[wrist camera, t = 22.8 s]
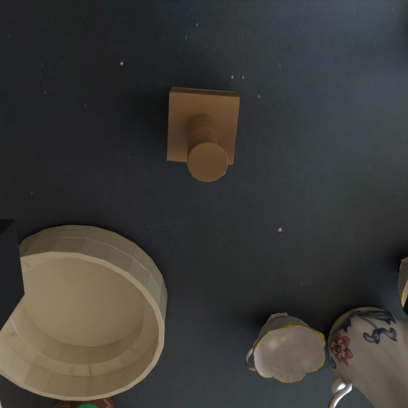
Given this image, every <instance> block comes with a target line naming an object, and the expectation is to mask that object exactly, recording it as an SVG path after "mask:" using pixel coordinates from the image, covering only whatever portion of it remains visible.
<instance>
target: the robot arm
mask: <svg viewBox="0 0 408 408" xmlns="http://www.w3.org/2000/svg"><path fill="white" fill-rule="evenodd" d="M24 295H25V291H24V283H23V275H22V268H21V260H20V252H19V245H18V237H17V229H16V221H15V220H12V219H0V331H1V330H2V328H3V327H4V325H5V323H6V322H7V320H8V319H9V317H10V316H11V314H12V313H13V311H14V310H15V308H16V307H17V305H18V304H19V302H20V301H21V299H22V298H23V296H24ZM403 311H404V312H405V313H406V314H407V316H408V295H407V298H406V301H405V304H404V307H403Z"/></svg>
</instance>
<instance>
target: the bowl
mask: <svg viewBox="0 0 408 408" xmlns="http://www.w3.org/2000/svg"><path fill="white" fill-rule="evenodd" d="M18 245H19V252H20V260H21V268H22V275H23V283H24V291H25V295H24V296H23V298H22V299H21V301H20V302H19V304H18V305H17V307H16V308H15V310H14V311H13V313H12V314H11V316H10V317H9V319H8V320H7V322H6V323H5V325H4V327H3V328H2V330H1V331H0V374H1V375H3V376H4V377H6V378H7V379H9V380H10V381H12V382H13V383H15V384H16V385H18V386H19V387H21V388H24V389H26V390H29V391H31V392H34V393H36V394H38V395H41V396H45V397H50V398H55V399H60V400H71V401H89V400H95V399H101V398H107V397H110V396H113V395H115V394H118V393H121V392H123V391H126V390H128V389H130V388H131V387H133V386H134V385H135V384H137V383H138V382H140V381H141V380H143V379H144V378H145V377H146V376H147V375H148V373H149V372H150V371H151V370H152V368H153V367H154V366H155V365H156V364H157V361H158V359H159V356H160V354H161V351H162V349H163V346H164V336H165V325H166V313H167V290H166V287H165V283H164V279H163V276H162V274H161V273H160V271H159V270H158V268H157V266H156V265H155V263H154V262H153V260H152V259H151V258H150V257H149V256H148V255H147V254H146V253H145V252H144V251H143V250H142V249H141V248H140V247H138V246H137V245H136V244H135V243H133V242H131V241H130V240H128V239H126V238H124V237H122V236H121V235H119V234H117V233H115V232H112V231H108V230H105V229H101V228H98V227H94V226H81V225H64V226H58V227H53V228H48V229H44V230H42V231H40V232H38V233H36V234H34V235H31V236H29V237H27V238H26V239H24V240H23V241H22V242H21V243H20V244H18Z"/></svg>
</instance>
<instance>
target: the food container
mask: <svg viewBox="0 0 408 408" xmlns="http://www.w3.org/2000/svg"><path fill="white" fill-rule="evenodd" d="M53 408H114V401H113V398H112V397H111V396H110V397H107V398H101V399H95V400H89V401H71V400H60V399H56V402H55V404H54V406H53Z"/></svg>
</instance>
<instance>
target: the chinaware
mask: <svg viewBox="0 0 408 408" xmlns="http://www.w3.org/2000/svg"><path fill="white" fill-rule="evenodd" d="M398 290H399V293H398V297H399V300H400V304H401V306H402V308H403V307H404V304H405V301H406V298H407V295H408V257H406V258H405V259H403V260H401V264H400V272H399V276H398ZM406 315H407V314H406ZM325 345H326V342H325V338H324V335H323V334H322V333H320V332H318V331H316V330H314V329H312V328H310V327H309V326H308V325H307V324H306V323H305V322H303V321H302V320H300V319H298V318H296V317H292V316H289V315H288V314H287V313H277V314H271V316H270V317H269V319H268V320H267V322H266V324H265V325H264V326H263V327H262V328H261V330H260V332H259V334H258V337H257V340H256V341H255V342H254V344H253V348H251V349H250V350H249V351H248V353H247V355H246V357H245V364H246V366H247V367H248V368H249V369H250V370H252V371H254V370H256V373H257V374H258V375H260V376H262V377H264V378H272V377H274V379H276V380H278V381H279V382H281V383H285V384H293V383H296V382H299V381H300V380H301V379H302V378H303V377H304V376H305V375H306V374H307V373H306V372H308V373H311V372H316V371H318V370H319V369H321V368H322V367H323V366H324V364H325V360H326V354H325V349H324V348H325ZM328 349H329V367H330V369H331V371H332V372H333V373H335V374H336V375H337V376H339V377H335V378H333V379H332V380H331V382H330V390H331V392H333V393H334V394H335V396H334V397H333V398H332V399H331V401H330V403H329V405H328V408H335V406H336V404H337V402H338V401H339V400H340V399H341V398H342V397H343V396H344V395H345V394H347V393H348V392H350V391H351V389H352V385H354V386H355V387H357V388H358V389H359V390H360V391H361V392H362V393H363V394H364V395H365V396H366V397H367V398H368V399H369V400H370V402H371V403H372V404H373V406H374V407H375V408H408V320H403V319H396V318H395V317H394V315H393V314H391V313H390V312H388V311H385V310H383V309H381V308H378V307H374V306H361V307H356V308H353V309H351V310H348V311H346V312H345V313H343V314H342V315H340V316H339V317H338V318H337V319H336V320H335V321H334V323H333V324H332V326H331V328H330V331H329V339H328ZM252 352H253V357H254V358H253V362H254V367H250V366H249V365H248V358H249V356H250V354H251V353H252ZM340 377H341V378H340ZM344 379H345V380H344ZM346 380H347V381H346ZM345 385H347V386H346V387H345Z"/></svg>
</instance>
